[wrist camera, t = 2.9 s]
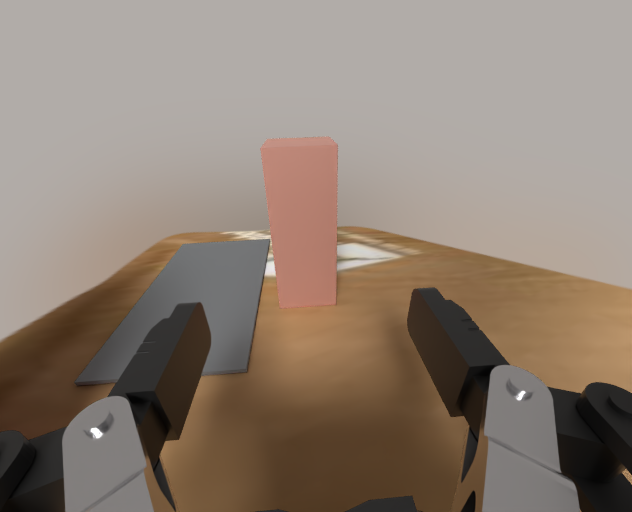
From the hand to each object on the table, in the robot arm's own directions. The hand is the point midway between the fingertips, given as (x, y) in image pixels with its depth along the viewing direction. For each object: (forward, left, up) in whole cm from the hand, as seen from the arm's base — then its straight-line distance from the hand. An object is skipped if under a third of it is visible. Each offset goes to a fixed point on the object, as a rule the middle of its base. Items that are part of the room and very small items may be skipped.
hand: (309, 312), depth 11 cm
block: (0, -11, -7) cm, 13 cm away
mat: (+9, -12, -7) cm, 17 cm away
